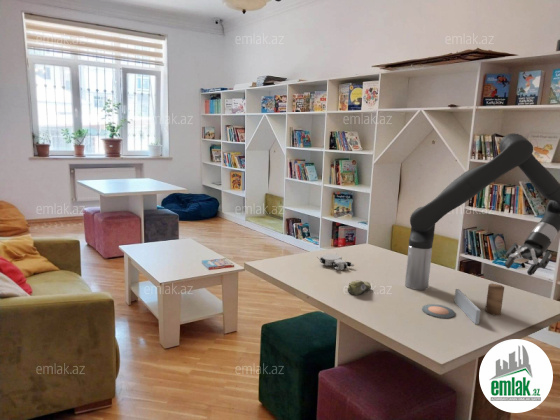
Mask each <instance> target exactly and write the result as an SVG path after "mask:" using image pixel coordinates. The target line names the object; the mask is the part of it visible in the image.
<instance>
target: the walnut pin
mask: <svg viewBox="0 0 560 420" xmlns="http://www.w3.org/2000/svg"><path fill="white" fill-rule="evenodd" d="M504 293H505V286H503V285H502V284H499V283H498V284H497V283H489V284H488V288H487V295H486V303H485V309H484V311H485V313H486V314H489V315H491V316H501V313H502V308H503V307H502V306H503V300H504Z"/></svg>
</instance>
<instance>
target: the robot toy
mask: <svg viewBox="0 0 560 420" xmlns="http://www.w3.org/2000/svg"><path fill="white" fill-rule="evenodd" d="M316 258H317V259H318V260H319V262H320V263H321V264H323V265H324V266H326V267H328V266H332V268H333V269H334V270H338V271H340V270H341V271H342V270H348V269H347V268H348V267H354V266H355V264H354V263H352V262H351V261H346V260H344V259H343V257H342V256H341V255H339V254H337V253H326V254H323V255H321V256H320V257H318V256H316Z"/></svg>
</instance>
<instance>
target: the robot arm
mask: <svg viewBox="0 0 560 420" xmlns="http://www.w3.org/2000/svg"><path fill="white" fill-rule="evenodd" d="M498 147H499V151H500V153H499V154H497V156H495V157H494V158H492V159H491V160H490V161H487V162H486V163H484V164H482V165H478V166H475V167H472V168H471V169H468V170H466V171H464V172H463V173H462V174H461V175H459V176H458V177H456V178H455V179H454V180H453V181H452V182H451V183H449V184H448V185H447V186H446V187H445V188H444V189H443V190H442V191H441V192H440V193H439V194H438V195H437V196H436V197H435V198H434V199H432V200H431V201H430V202H428V203H427V204H425V205H423V206H420V207H418V208H416V209H415V210H414V211H413V212H412V213H411V214H410V217H409V224H410V226H411V227H410V234H409V239H408V249H407V250H408V251H407V258H406V259H407V260H406V272H405V283H404V285H405V287H408V288H410V289H413V290H419V291H420V290H423V291H424V290H428V289H429V285H430V283H429V282H430V274H431V263H432V254H433V252H432V251H433V243H434V238H435V229H436V223H438V222H439V221H440V220H441V219H442V218H443V217H444V216H446V215H447V214H448V213H450V212H451V211H453V210H455V209H457V208H458V207H460V206H462V205H463V204H466V202H467V201H470V200H471V199H472V198H474V197H475V196H476V195H478V194H479V193H480V192H482V191H483V190H484V189H486V188H487V187H488V186H489V185H491V184H492V183H494V182H495V181H496V180H498V179H499V178H501V177H502V176H503V175H505V174H507V173H508V172H510V171H512V170H513V169H515V168H517V167H518V168H519V169H520V170H521V171H522V172H523V173H524V175H525V176H526V177H527V179H528V180H529V181H530V183H531V184H532V185H533V186H534V187H535V189H536V190H537V191H538V192H539V193H540V195H541V196H542V197H543V198H544V199H546V200H549V201H548V202H547V205H546V207H545V211H544V214H543V216H542V218H541V220H540V221H539V222H538V223H537V224H536V225H535V227H534V228H533V229H532V231H531V232H530V233H529V234H528V236H527V237H526V238H525V240H524V241H523V242H524V243H523V244H522V245H519V244H518V243H516V242H515V243H513V244H512V245H511V246H510V247H509V248H508V250H507V251H506V253H505V255H506V256H507V260H506V261H505V263H504V265H505V268H507V269H510V268H511V267H512V265H513V264H514V263H515V261H517V260H521V259H524V260H529V261H533V263H532V264H531V265H530V267H529V268H528V270H527V271H526V273H527V275H528V276H533V275H534V274H535V273H536V272H537V270H538V269H540V268H541V269H545V268H547V266H548V265H549V263H550V261H551V260H552V258H553V255H552V254H551V251H547V250H548V249H549V248H550V246H551V244H552V243H553V242H554V240H555V239H556V237H557V235H558V233H559V232H560V183H559V181H558V180H557V179H556V177H555V176H554V175H553V174H552V173H551V172H550V171H549V170H548V169H547V168H546V167H545V166H544V165H543V164H542V163H541V162H540V161H539V160H538V159H537V158H536V156H535V155H534V154H533V152H534V145H533V144H532V143H531V141H530V140H528V139H527V138H526V137H525V136H523V135H522V134H519V133H515V132H514V133H513V132H512V133H508V134H506V135H504V136H503V137H502V138H501V140H500V142H499V145H498ZM539 258H541V260H540V261H539Z"/></svg>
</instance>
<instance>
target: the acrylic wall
mask: <svg viewBox="0 0 560 420" xmlns="http://www.w3.org/2000/svg"><path fill="white" fill-rule="evenodd" d="M454 294H455V295H454V300H453V301H454V302H455V305H457V306H458V307H459V308H460V309H461V311H463V312H464V314H465V315H466V316H467V317H468V318H469V320H471V321H472V322H473V324H474V325H480V317H481V309H480V308H479V307H478V306H477V305H476V304H474V303H473V301H472V300H470V299H469V297H468V296H467V295H466V294H465V293H463V291H462V290H461V289H459V288H455V292H454Z"/></svg>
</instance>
